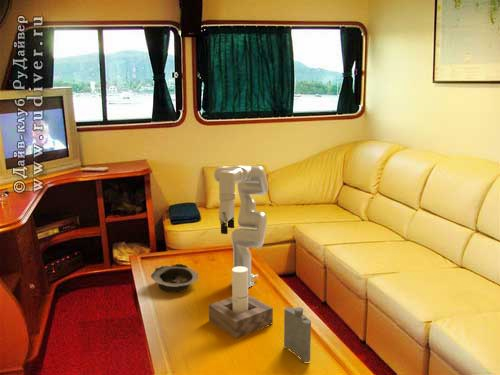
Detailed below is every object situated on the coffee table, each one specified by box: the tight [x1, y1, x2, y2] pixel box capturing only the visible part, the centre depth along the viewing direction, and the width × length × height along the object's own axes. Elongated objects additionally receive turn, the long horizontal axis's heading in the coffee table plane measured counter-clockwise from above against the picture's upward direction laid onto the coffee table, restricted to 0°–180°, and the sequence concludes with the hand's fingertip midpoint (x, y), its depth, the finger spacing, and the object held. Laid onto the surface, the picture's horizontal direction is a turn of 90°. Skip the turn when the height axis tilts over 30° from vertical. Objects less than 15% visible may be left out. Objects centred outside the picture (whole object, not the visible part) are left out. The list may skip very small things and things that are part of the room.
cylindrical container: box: [231, 266, 249, 314], centre depth 229 cm, size 7×7×25 cm
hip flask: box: [283, 306, 312, 363], centre depth 203 cm, size 16×4×20 cm, turn 30°
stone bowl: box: [150, 263, 199, 293], centre depth 270 cm, size 25×25×9 cm
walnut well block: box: [208, 294, 274, 339], centre depth 230 cm, size 21×21×8 cm
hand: (227, 230), depth 242 cm, fingers open, 9 cm apart
